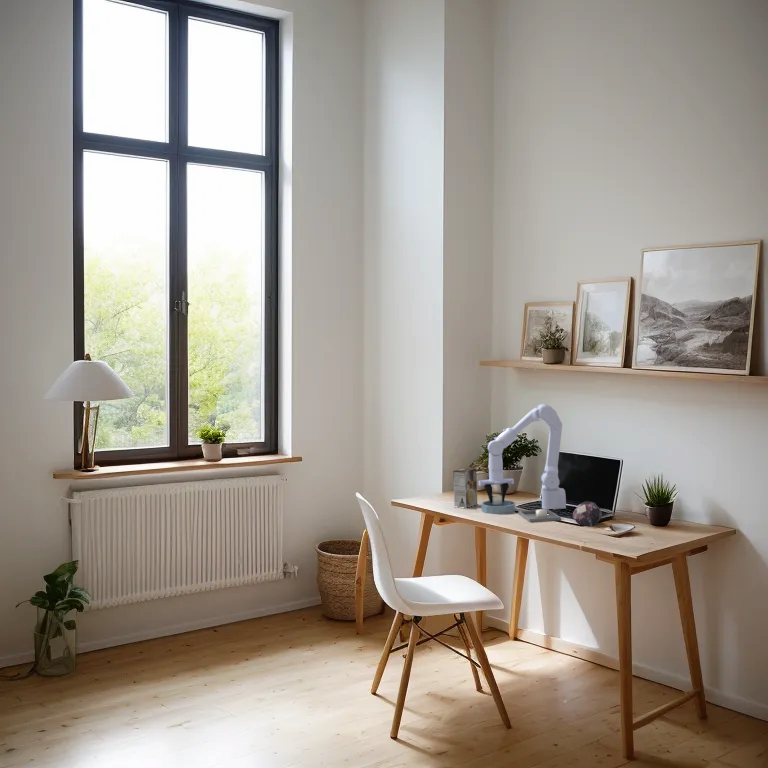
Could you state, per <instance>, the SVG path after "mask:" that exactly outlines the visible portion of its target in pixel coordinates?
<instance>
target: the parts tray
mask: <svg viewBox="0 0 768 768" xmlns="http://www.w3.org/2000/svg"><path fill="white" fill-rule="evenodd" d="M536 510H537V509H533V510H532V509H531V510H518V515H519V516H520V517H522V518H523V520H525V521H527V522H529V523H538V522H539V523H540V522H541V523H542V522H555V521H561V516H559V515H558V514H557V513H555V512H554V511H551V510H549V509H545V510H547V513H548V514H549V515H547V518H536Z"/></svg>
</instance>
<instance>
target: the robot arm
mask: <svg viewBox="0 0 768 768" xmlns="http://www.w3.org/2000/svg"><path fill="white" fill-rule="evenodd" d="M540 420H542V421H544V422H545V424H547V425H548V427H549V432H548V433H549V435H548V441H547V443H548V444H547V450H546V451H547V452H546V461H545V466H544V471H543V473H542V474H541V476H540V479H541V480H540V481H541V483H542V487H541V509H553V510H561V509H567V498H566V497H567V496H566V490H565V489H564V488H563V487H562V488H561V487H559V486H560V479H559V467H558V465H559V458H560V457H559V456H560V450H561V449H560V448H561V439H562V431H563V423H562V420H561V419H560V417H559V415H558V412H557V411H556V410H555V409H554V408H553V407H552V406H551V405H549V404H547V403H543V402H542V403H539V404H538V405H537V406H536V407H534V408H532V409H531V410H530V411H528V413H527V414H525V416H523V417H522V418H521V419H520V420H519V421H518V422H517V423H516V424H514V426H513V427H507V428H506V429H505V428H504V429H502V432H501V433H500V434H499V435H498V436H495V437H493V439H494V440H491V441H489V442H488V445H487V451H488V452H489V453H488V478H489V479H482V480H478V487H482V486H483V487H484V488H485V489H484V490H485V491H486V493H487V496H488V501H489V502H490V503H492V495H493V487H492V486H494V485H495V486H496V485H499V487H500V495H502V502H504V500H506V499H505V498H506V494H507V492H508V489H509V487H510V486H509V485H514V484H515V481H514V480H515V479H514V478H504V469H503V467H504V466H503V463H504V462H503V452H504V449H506V448H508V446H510V445H511V444H512V443H513V442H514V441H515V440H516V439H517V438H518V434H519V433H520V432H522V431H523V430H524V429H525V428H526V427H528V426H529V425H530V424H531V423H534V422H540Z"/></svg>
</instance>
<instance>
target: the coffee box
mask: <svg viewBox="0 0 768 768" xmlns="http://www.w3.org/2000/svg"><path fill="white" fill-rule="evenodd" d="M452 473H453V495H454V497H453V499H454V500H453V501H454V502H453V503H454V507H455V506H457V507H464V508H463V509H465V508H467V507H470V508H472V507H475V506H477V505H478V483H477V482H478V481H477V479H478V478H477V468H476V467H475V468H473V467H463V468H458V469H455V470H453V472H452ZM474 505H475V506H474ZM471 506H472V507H471ZM467 509H468V508H467Z"/></svg>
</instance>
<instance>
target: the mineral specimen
mask: <svg viewBox="0 0 768 768" xmlns="http://www.w3.org/2000/svg"><path fill="white" fill-rule="evenodd" d="M602 516H603V512H602V510H601V509H600V507H599V506H598V505H597V504H596V503H595V502H593V501H587V500H585V501H584V502H582V503H580V504H578V505H577V506H576V508H575V509H574V511H573V513H572V518H573V520H574V521H575V522H576V523H577V524H578V525H579V526H584V527H594V526H596V525H597V524H598V523H599V522H600V521H601V519H602Z"/></svg>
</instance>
